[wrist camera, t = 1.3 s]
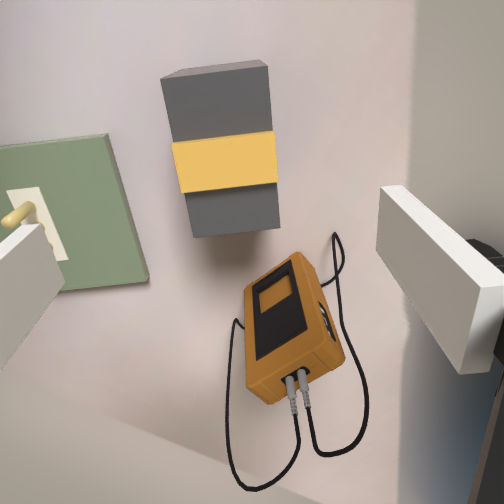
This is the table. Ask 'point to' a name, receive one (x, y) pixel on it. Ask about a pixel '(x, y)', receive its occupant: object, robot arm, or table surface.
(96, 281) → the board
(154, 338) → the table surface
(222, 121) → the block
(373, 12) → the table surface
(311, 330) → the multimeter
